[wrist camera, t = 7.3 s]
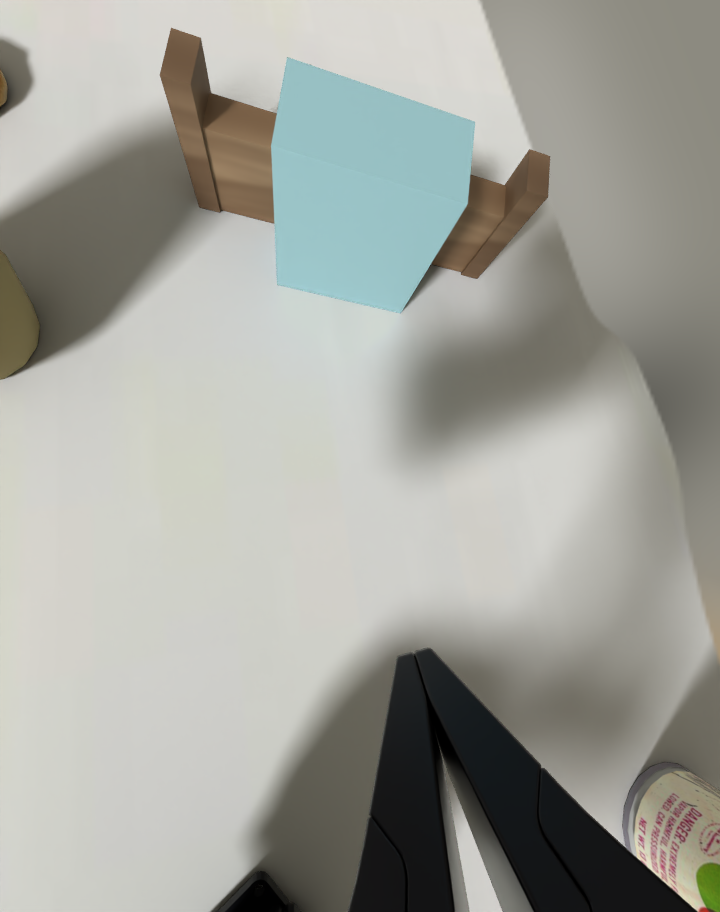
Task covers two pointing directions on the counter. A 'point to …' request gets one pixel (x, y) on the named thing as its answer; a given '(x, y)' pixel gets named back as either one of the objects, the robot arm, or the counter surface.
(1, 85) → the pastry
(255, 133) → the rail
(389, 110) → the pale blue brick
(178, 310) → the counter surface
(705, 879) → the aerosol can
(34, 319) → the squeeze bottle
